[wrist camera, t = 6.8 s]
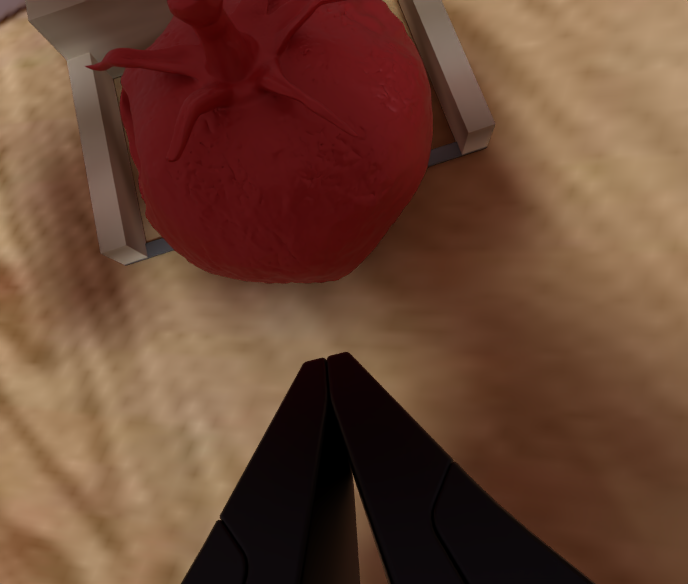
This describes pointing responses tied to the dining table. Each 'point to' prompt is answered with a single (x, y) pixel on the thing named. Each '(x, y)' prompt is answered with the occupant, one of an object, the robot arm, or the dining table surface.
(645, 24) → the dining table surface
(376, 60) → the pomegranate
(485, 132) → the cradle
